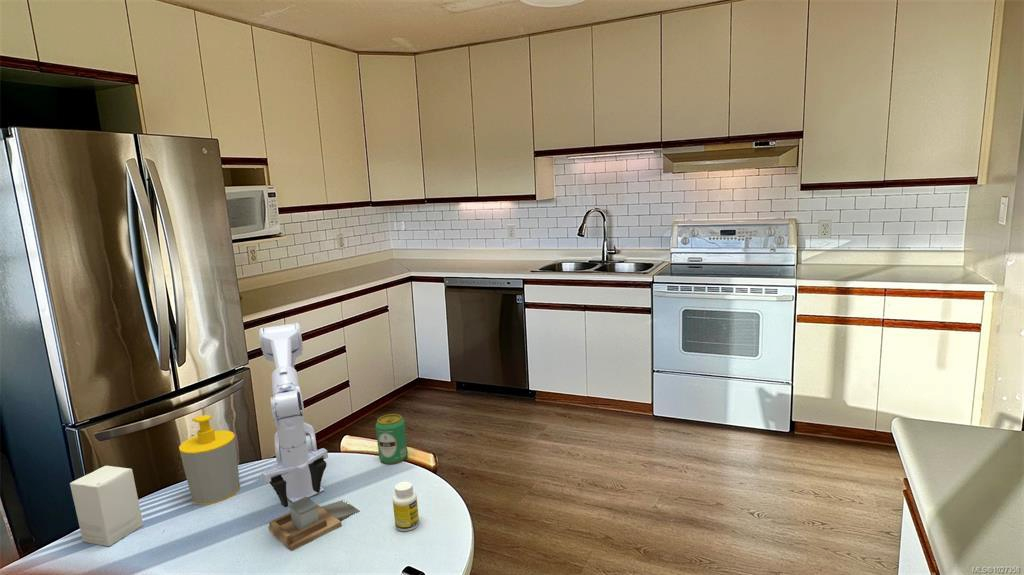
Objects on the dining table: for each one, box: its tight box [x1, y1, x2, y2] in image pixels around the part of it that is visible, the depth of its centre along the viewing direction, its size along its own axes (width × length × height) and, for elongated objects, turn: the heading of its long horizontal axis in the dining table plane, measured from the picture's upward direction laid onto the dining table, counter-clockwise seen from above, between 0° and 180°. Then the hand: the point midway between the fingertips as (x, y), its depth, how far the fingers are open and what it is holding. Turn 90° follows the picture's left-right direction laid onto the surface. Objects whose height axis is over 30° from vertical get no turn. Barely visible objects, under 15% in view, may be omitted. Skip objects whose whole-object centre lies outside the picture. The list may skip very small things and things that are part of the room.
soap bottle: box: [178, 414, 241, 506], centre depth 151 cm, size 13×13×21 cm
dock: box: [268, 499, 361, 552], centre depth 136 cm, size 12×18×3 cm, turn 135°
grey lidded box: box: [288, 497, 319, 530], centre depth 133 cm, size 6×4×5 cm
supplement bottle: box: [392, 481, 420, 532], centre depth 132 cm, size 5×5×10 cm
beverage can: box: [375, 413, 408, 465], centre depth 165 cm, size 8×8×12 cm
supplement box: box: [69, 465, 144, 547], centre depth 136 cm, size 9×9×15 cm
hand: (300, 498), depth 133 cm, fingers open, 7 cm apart
